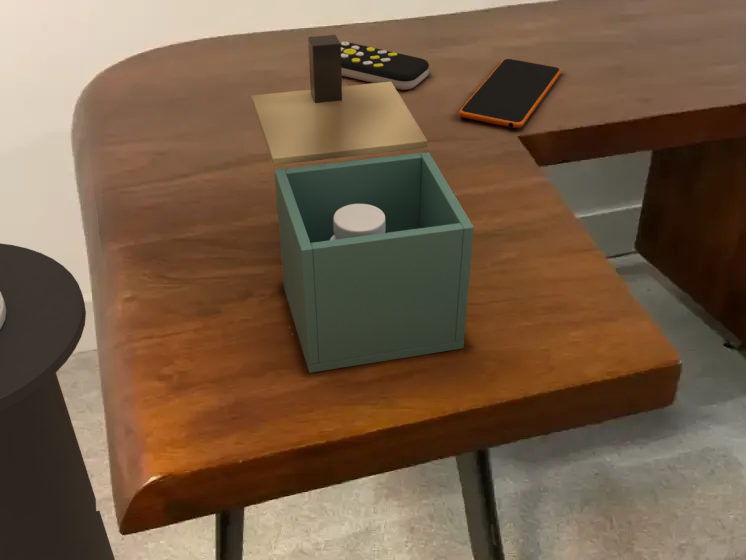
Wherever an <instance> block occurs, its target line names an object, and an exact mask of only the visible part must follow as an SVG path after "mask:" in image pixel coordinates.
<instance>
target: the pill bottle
mask: <svg viewBox="0 0 746 560" xmlns="http://www.w3.org/2000/svg"><path fill="white" fill-rule="evenodd" d="M385 228H386V225H385V215H384V213H383V212H382V210H380V209H379V208H377V207H375V206H372V205H368V204H351V205H347V206H344V207H342V208H340V209H339V210H337V211H336V213H335V214H334V218H333V231H334V235H333V236H332V237H331V239H330V240H337V239H344V238H352V237H359V236H367V235H374V234H382V233H385Z"/></svg>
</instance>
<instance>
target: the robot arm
mask: <svg viewBox="0 0 746 560" xmlns="http://www.w3.org/2000/svg"><path fill="white" fill-rule="evenodd" d="M5 317H6V306H5V302H4V299H3V297H2V294H1V292H0V329H1V327H2V325H3V323H4V321H5Z"/></svg>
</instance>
